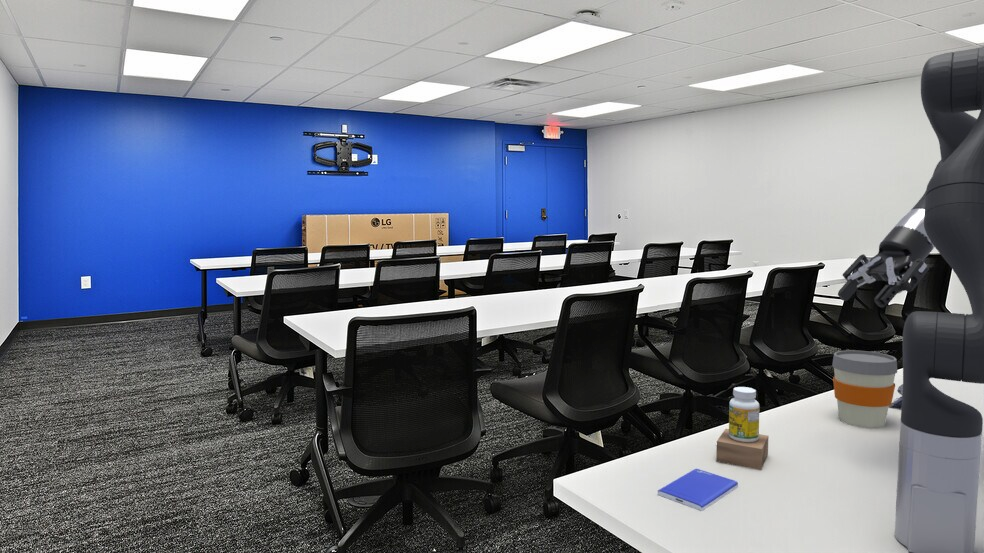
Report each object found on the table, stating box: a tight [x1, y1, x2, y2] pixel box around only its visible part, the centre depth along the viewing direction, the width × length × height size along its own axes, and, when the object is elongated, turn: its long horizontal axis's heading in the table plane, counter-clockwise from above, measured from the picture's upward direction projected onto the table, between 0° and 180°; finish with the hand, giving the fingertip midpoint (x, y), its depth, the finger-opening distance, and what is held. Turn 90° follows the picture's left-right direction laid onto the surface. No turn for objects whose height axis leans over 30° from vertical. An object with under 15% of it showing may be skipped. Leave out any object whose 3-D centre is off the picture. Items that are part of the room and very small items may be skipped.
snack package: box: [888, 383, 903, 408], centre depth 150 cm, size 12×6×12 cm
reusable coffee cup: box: [831, 350, 898, 429], centre depth 139 cm, size 13×13×15 cm
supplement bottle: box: [728, 386, 760, 442], centre depth 118 cm, size 5×5×10 cm
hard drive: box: [657, 468, 739, 512], centre depth 106 cm, size 2×8×12 cm
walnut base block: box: [715, 428, 769, 471], centre depth 119 cm, size 8×8×4 cm
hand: (859, 301), depth 115 cm, fingers open, 8 cm apart
